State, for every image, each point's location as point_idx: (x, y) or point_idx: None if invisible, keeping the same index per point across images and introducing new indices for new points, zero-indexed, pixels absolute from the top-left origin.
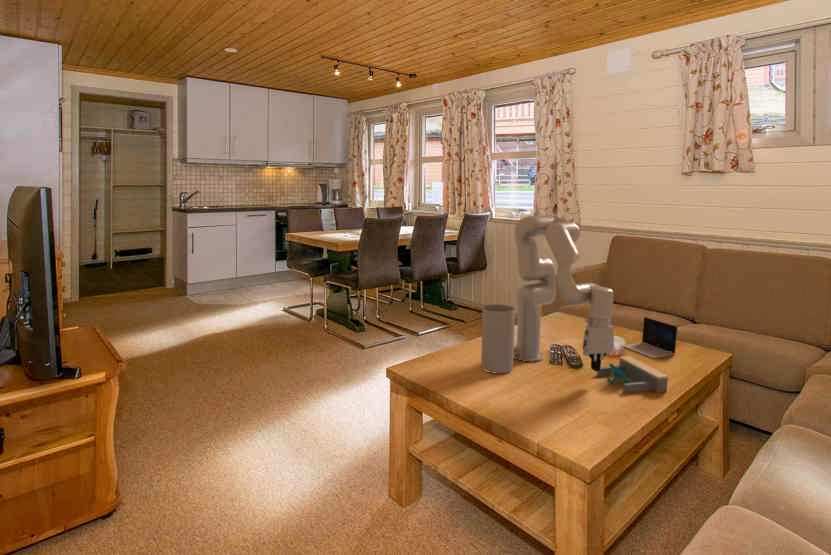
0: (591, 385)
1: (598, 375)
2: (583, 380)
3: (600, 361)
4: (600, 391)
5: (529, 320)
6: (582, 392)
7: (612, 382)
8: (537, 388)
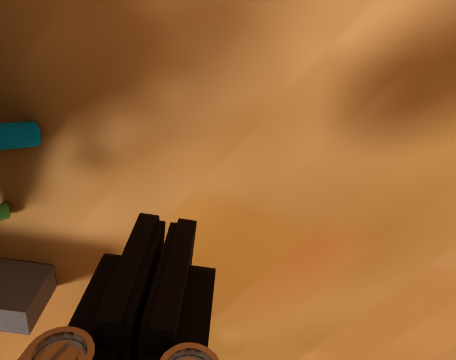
0: (225, 160)
1: (53, 274)
2: (215, 252)
3: (99, 313)
4: (246, 18)
5: None
6: (424, 66)
7: (19, 123)
8: None
